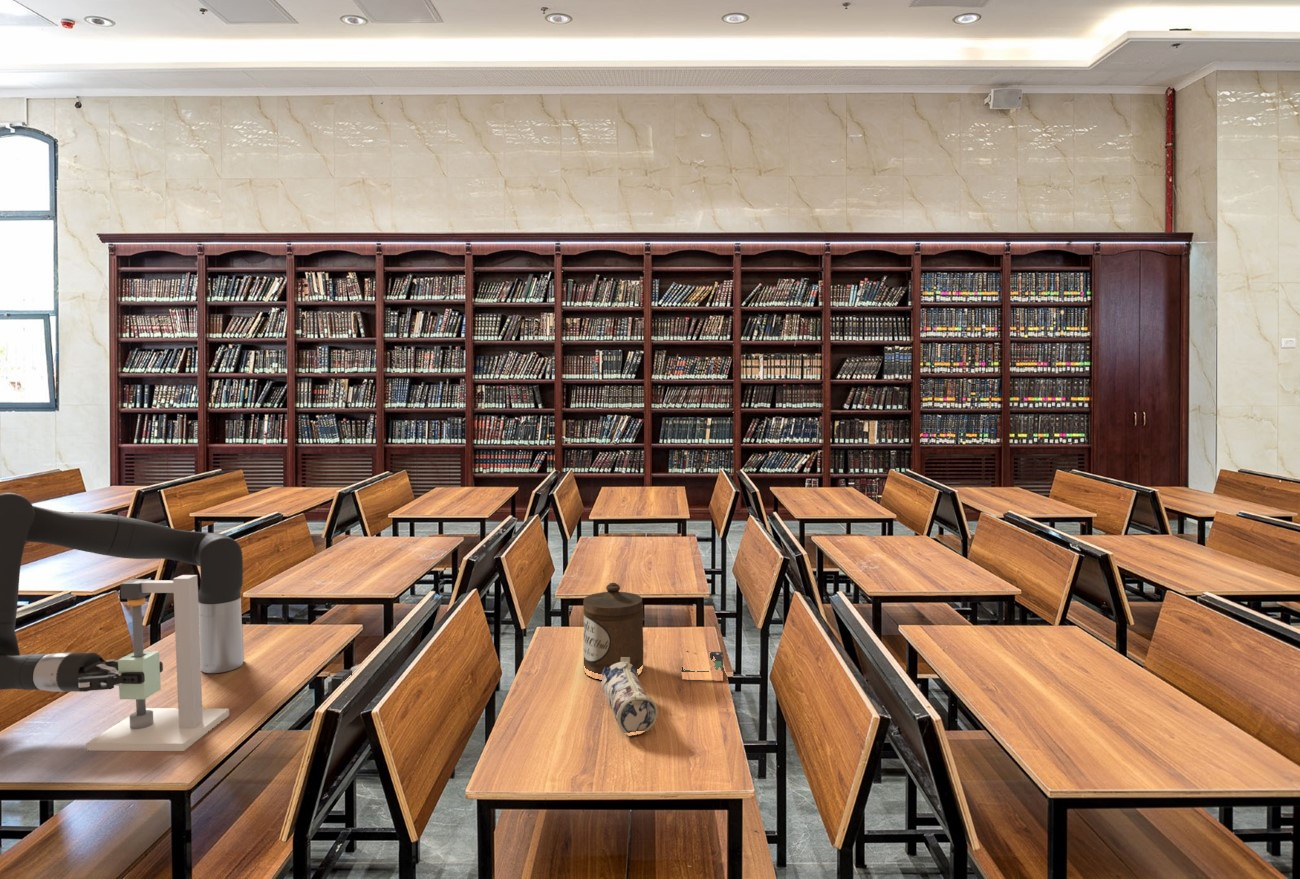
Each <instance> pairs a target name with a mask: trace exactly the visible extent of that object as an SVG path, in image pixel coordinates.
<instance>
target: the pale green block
mask: <svg viewBox="0 0 1300 879" xmlns="http://www.w3.org/2000/svg"><path fill="white" fill-rule="evenodd" d="M143 652H144V656H143V657H141V658H134V651H132V652H131V653H129V654H126V655H127V656H125V657H120V658H119V659H117V660H118V671H122V672H123V673H124V672H143V673H144V676H145V681H144V682H143V683H142V684H123V685H121V686H118V691H119V692H118V693H119V694H118V695H119V696H118V697H119V700H136V699H145V700H146V699H148V698H149V697H152V696H153V695H154V694H156V693H157V692H159V691H161V690H162V688H161V687H162V686H161V673H160V662H161V661H160V659H161V658H160V651H158V650H157V651H154V650H152V651H149V650H148V651H146V650H143Z"/></svg>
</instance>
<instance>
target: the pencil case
mask: <svg viewBox="0 0 1300 879" xmlns="http://www.w3.org/2000/svg"><path fill="white" fill-rule="evenodd" d="M602 675H603V678H602V681H601V680H600V681H601V682H600V687H601V690H602V692H603V694H604V696H605V698H606V700H607V702H608V705H609V706H610V709H611V710H612V714H613V716H614V719H615V721H616V723H617V725H618V729H620V731H621V732H622V733H623V734H624V733H630V732H636V731H646V732H648V731H649V730H651V729H652V728H653V727H654V725H655V723H656V721H657V718H658V714H659V713H658V712H659V711H658V706H657V703H656V702H655V701H654V699H653V698H651V697H649V696H648V695H647V693H646V692H645V691H644V689H643V686H642V684H641V683H640V680H639V679H638V677H639V676H638V673H637V670H636V669H635V667H634V666H633V665H632V664H630V658H629V657H621V662H619V663H616V664H613V665H612V666H610V667H609V668H608V667H607V666H605V668H604V670H603V672H602Z"/></svg>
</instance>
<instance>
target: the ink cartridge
mask: <svg viewBox="0 0 1300 879" xmlns="http://www.w3.org/2000/svg"><path fill="white" fill-rule="evenodd" d="M350 675H352V670H350V669H341V670H339V671H338V672H336V673H335V674H334V675H333V676H332V677H331V680H332V681H331V680H330V681H331V685H332V691H333V690H334V689H335V688H336V687H337V686H338V685H339V684H341V683H342V682H343V681H345V680H346V679H347V678H348V677H349V676H350Z"/></svg>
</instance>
